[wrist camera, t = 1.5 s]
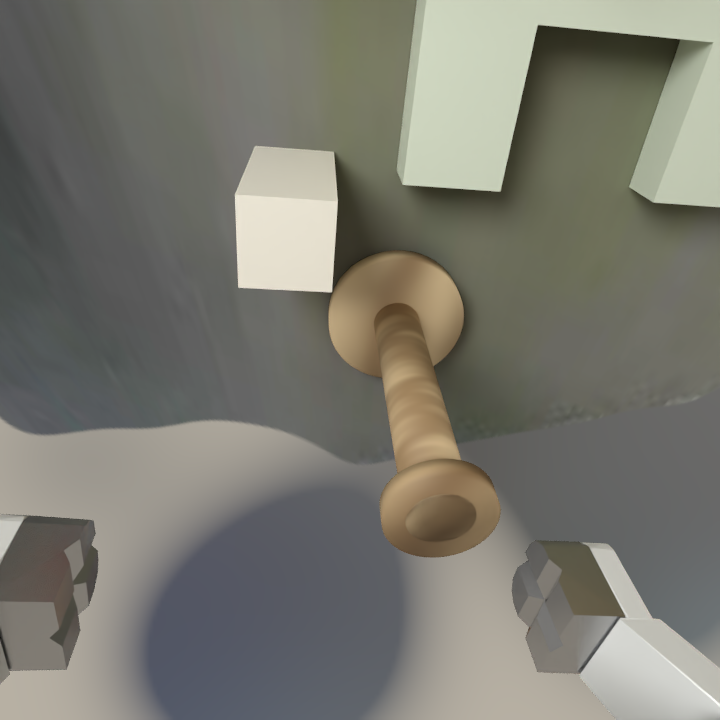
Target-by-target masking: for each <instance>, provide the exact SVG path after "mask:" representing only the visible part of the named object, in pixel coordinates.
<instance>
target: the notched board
mask: <svg viewBox="0 0 720 720" xmlns="http://www.w3.org/2000/svg"><path fill="white" fill-rule="evenodd" d="M538 25H545V26H555V27H565V28H575V29H585V30H595V31H604V32H614V33H624V34H634V35H644V36H654V37H664V38H674V39H681V40H680V42H679V45H678V48H677V51H676V54H675V57H674V60H673V63H672V65H671V68H670V71H669V74H668V77H667V80H666V83H665V85H664V88H663V91H662V94H661V97H660V100H659V103H658V105H657V108H656V111H655V114H654V117H653V120H652V123H651V126H650V128H649V131H648V134H647V137H646V140H645V143H644V146H643V148H642V151H641V154H640V157H639V160H638V163H637V166H636V169H635V171H634V174H633V177H632V180H631V183H630V186H629V187H630V188H631V189H633V190H634V191H636V192H638V193H639V194H641V195H642V196H644V197H645V198H647V199H648V200H650V201H652V202H653V203H667V204H681V205H695V206H710V207H720V0H417V4H416V12H415V20H414V29H413V37H412V45H411V54H410V62H409V70H408V79H407V87H406V95H405V104H404V112H403V120H402V129H401V137H400V145H399V154H398V162H397V172H398V175H399V177H400V179H401V182H402V184H403V185H413V186H427V187H441V188H455V189H469V190H483V191H498V192H500V191H501V187H502V182H503V178H504V173H505V169H506V164H507V160H508V156H509V151H510V147H511V142H512V138H513V133H514V129H515V124H516V120H517V115H518V111H519V106H520V102H521V98H522V93H523V89H524V84H525V80H526V75H527V71H528V66H529V62H530V57H531V53H532V49H533V44H534V40H535V35H536V31H537V26H538Z"/></svg>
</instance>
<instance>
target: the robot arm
mask: <svg viewBox="0 0 720 720" xmlns="http://www.w3.org/2000/svg"><path fill="white" fill-rule="evenodd" d="M95 534H96V533H95V527H94V521H92V520H83V519H70V518H56V517H42V516H27V515H10V514H0V684H1V683H2V681H4V680H5V679H6V677H8V676H9V675H10V672H9V671H20V670H66V669H67V667H68V664H69V661H70V658H71V655H72V653H73V650H74V647H75V644H76V641H77V638H78V636H79V632H80V626H79V618H78V615H79V614H80V613H81V612H82V611H83V610H84V609H86V608H87V607H88V606H89V604H90V601H91V598H92V595H93V592H94V588H95V583H96V578H97V573H98V551H97V550H96V549H95V548H94V547H93V546H92V542H93V539H94V536H95ZM526 556H527V558H528V561H526V562H525V563H523V564H522V565H520V566H519V567H518V568H517V570H516V573H515V575H514V577H513V584H512V595H513V602H514V606H515V609H516V612H517V614H518V617H519V618H521V619H522V621H524V622H525V623H526V624H527V625H528V626H529V629H528V632H527V635H526V641H527V643H528V646H529V649H530V652H531V654H532V658H533V660H534V663H535V666H536V669H537V672H547V673H574V674H576V673H577V674H580V675H579V677H580V678H581V679H582V680H583V681H584V683H585V684H586V685H587V686H588V687H589V689H590V690H591V691H592V692H593V693H594V694H595V696H596V697H597V698H598V699H599V700H600V701H601V703H602V704H603V705H604V706H605V707H606V708H607V710H608V711H609V712H610V713H611V714H612V715H613V717H614V718H615V719H616V720H720V668H719V667H718V666H716V665H715V664H714V663H713V662H711V661H710V660H709V659H708V658H707V657H705V656H704V655H703V654H702V653H700V652H699V651H698V650H697V649H696V648H694V647H693V646H692V645H691V644H689V643H688V642H687V641H686V640H685V639H683V638H682V637H681V636H680V635H679V634H677V633H676V632H675V631H674V630H672V629H671V628H670V627H669V626H668V625H666V624H665V623H664V622H663V621H661V620H660V619H653V618H652V617H651V615H650V613H649V611H648V610H647V608H646V606H645V604H644V603H643V601H642V599H641V597H640V596H639V594H638V592H637V590H636V588H635V587H634V585H633V583H632V581H631V580H630V578H629V576H628V574H627V573H626V571H625V569H624V567H623V566H622V564H621V562H620V560H619V559H618V557H617V555H616V553H615V552H614V550H613V549H612V548H611V547H610V546H609V545H608V544H602V543H580V542H569V541H537V540H535V541H534V542H532V543H531V544H530V545H529V547H528V548H527V550H526Z"/></svg>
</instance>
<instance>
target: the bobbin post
mask: <svg viewBox="0 0 720 720" xmlns="http://www.w3.org/2000/svg"><path fill="white" fill-rule="evenodd" d="M328 313H329V332H330V336H331V340H332V343H333V345H334V347H335V349H336V350H337V352H338V353H339V354H340V356H341V357H342V358H343V359H344V360H345V361H346V362H347V363H348V364H350V365H351V366H352V367H354V368H356V369H357V370H359V371H361V372H363V373H366V374H369V375H372V376H376V377H381V378H382V379H383V385H384V391H385V398H386V404H387V410H388V417H389V423H390V429H391V435H392V442H393V448H394V454H395V461H396V467H397V473H398V474H396V475H395V476H394V477H393V478H392V479H391V480H390V481H389V482H388V483H387V485H386V486H385V488H384V490H383V492H382V494H381V497H380V514H381V523H382V530H383V532H384V535H385V537H386V538H387V539H388V541H389V542H390V543H391V544H392V545H393V546H395V547H396V548H398V549H399V550H401V551H403V552H406V553H408V554H411V555H415V556H421V557H444V556H450V555H454V554H458V553H461V552H463V551H466V550H469V549H471V548H473V547H475V546H476V545H478V544H480V543H481V542H482V541H484V540H485V539H486V538H487V537H488V536H489V535H490V534H491V533H492V532H493V530H494V529H495V527H496V526H497V524H498V521H499V518H500V511H501V509H500V503H499V501H498V498H497V495H496V492H495V489H494V486H493V483H492V481H491V479H490V478H489V476H488V475H487V474H486V473H485V472H484V471H483V470H482V469H480V468H479V467H477V466H476V465H474V464H471V463H469V462H465V461H462V460H461V458H460V454H459V451H458V448H457V444H456V441H455V438H454V434H453V431H452V428H451V424H450V421H449V418H448V414H447V411H446V407H445V404H444V401H443V397H442V394H441V391H440V387H439V384H438V381H437V377H436V374H435V371H434V367H433V366H434V365H436V364H437V363H438V362H440V361H441V360H442V359H443V358H444V357H445V356H446V355H447V354H448V353H449V352H450V351H451V350H452V348H453V347H454V345H455V344H456V342H457V340H458V338H459V336H460V334H461V330H462V327H463V321H464V309H463V303H462V300H461V297H460V294H459V292H458V290H457V288H456V285H455V283H454V281H453V279H452V278H451V276H450V275H449V273H448V272H447V271H446V270H445V269H444V268H443V267H442V266H441V265H440V264H438V263H437V262H436V261H434V260H432V259H431V258H429V257H427V256H424V255H422V254H419V253H415V252H411V251H403V250H393V251H385V252H381V253H377V254H374V255H371V256H368V257H366V258H364V259H362V260H361V261H359V262H357V263H356V264H354V265H353V266H352V267H351V268H349V269H348V270H347V271H346V272H345V273H344V274H343V276H342V277H341V278H340V279H339V281H338V282H337V284H336V286H335V287H334V290H333V292H332V294H331V298H330V301H329V309H328Z"/></svg>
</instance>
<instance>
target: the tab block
mask: <svg viewBox="0 0 720 720" xmlns="http://www.w3.org/2000/svg"><path fill="white" fill-rule="evenodd" d="M337 207H338V197H337V184H336V171H335V159H334V152H329V151H316V150H303V149H289V148H276V147H263V146H255V147H254V150H253V152H252V155H251V157H250V159H249V162H248V164H247V167H246V169H245V172H244V174H243V176H242V179H241V181H240V184H239V186H238V189H237V191H236V193H235V208H236V236H237V263H238V288H256V289H276V290H295V291H314V292H332V284H333V268H334V253H335V238H336V223H337Z"/></svg>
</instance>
